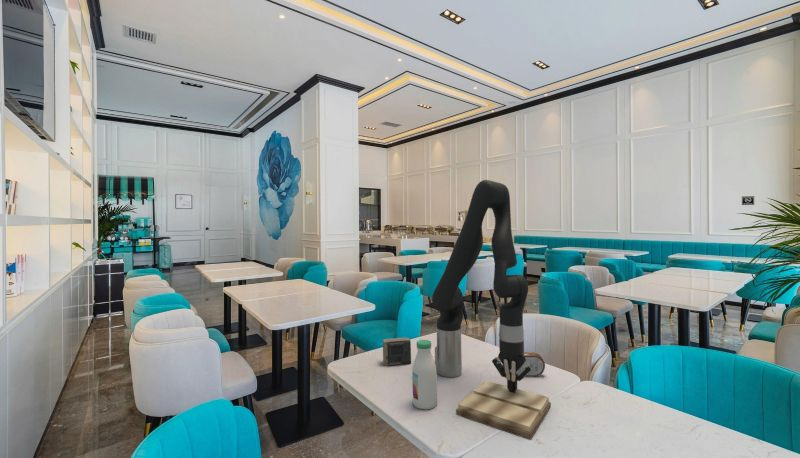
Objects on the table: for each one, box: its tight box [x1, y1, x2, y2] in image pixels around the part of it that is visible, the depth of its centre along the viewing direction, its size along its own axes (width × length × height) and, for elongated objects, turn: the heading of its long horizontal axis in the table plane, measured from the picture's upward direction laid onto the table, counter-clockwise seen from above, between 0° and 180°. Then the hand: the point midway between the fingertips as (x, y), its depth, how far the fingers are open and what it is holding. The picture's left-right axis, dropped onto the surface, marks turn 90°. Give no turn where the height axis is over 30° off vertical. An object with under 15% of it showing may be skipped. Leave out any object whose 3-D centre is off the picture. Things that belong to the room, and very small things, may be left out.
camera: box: [382, 337, 412, 366], centre depth 148 cm, size 11×6×10 cm, turn 98°
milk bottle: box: [411, 339, 438, 410], centre depth 115 cm, size 8×8×20 cm
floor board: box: [455, 392, 552, 440], centre depth 110 cm, size 22×20×3 cm
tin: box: [503, 351, 546, 378], centre depth 134 cm, size 15×3×8 cm, turn 84°
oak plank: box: [472, 379, 550, 415], centre depth 115 cm, size 21×9×2 cm, turn 53°
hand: (512, 391), depth 116 cm, fingers closed
